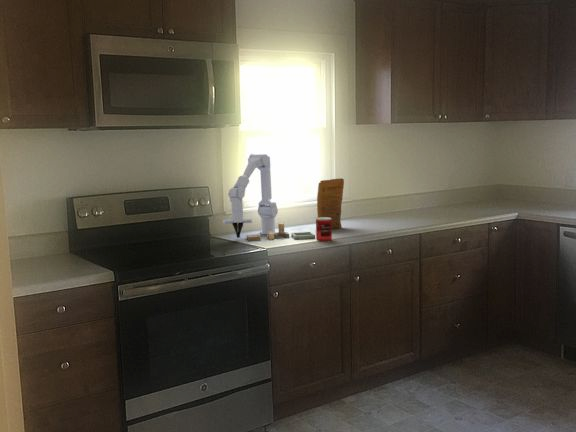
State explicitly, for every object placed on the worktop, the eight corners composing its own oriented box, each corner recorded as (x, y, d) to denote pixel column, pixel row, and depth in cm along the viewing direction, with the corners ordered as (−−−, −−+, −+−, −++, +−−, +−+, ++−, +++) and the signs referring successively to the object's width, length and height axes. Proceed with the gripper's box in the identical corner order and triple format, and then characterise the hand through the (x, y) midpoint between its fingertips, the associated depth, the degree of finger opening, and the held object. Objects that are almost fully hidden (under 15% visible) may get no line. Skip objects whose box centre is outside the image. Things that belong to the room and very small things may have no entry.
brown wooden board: (246, 239, 335) (246, 234, 335) (258, 238, 336) (258, 234, 336) (248, 241, 327) (248, 237, 326) (260, 241, 328) (260, 236, 327)
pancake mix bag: (348, 227, 364) (347, 178, 361) (320, 231, 354) (318, 180, 351) (341, 226, 370) (340, 177, 366) (313, 229, 360) (312, 179, 357)
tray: (291, 236, 339) (291, 232, 338) (310, 235, 340) (310, 231, 340) (295, 239, 327) (295, 236, 326) (315, 238, 328) (315, 235, 328)
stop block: (267, 237, 337) (267, 231, 336) (272, 237, 337) (272, 231, 337) (269, 239, 329) (269, 233, 328) (274, 239, 329) (274, 233, 329)
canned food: (322, 238, 328) (321, 216, 327) (335, 239, 323) (334, 217, 322) (313, 240, 322) (312, 218, 321) (326, 241, 317) (325, 219, 316)
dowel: (278, 236, 338) (277, 223, 337) (284, 236, 338) (283, 223, 338) (279, 237, 335) (278, 224, 334) (284, 237, 335) (284, 223, 335)
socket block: (274, 236, 340) (273, 232, 339) (287, 235, 341) (287, 232, 340) (275, 238, 333) (275, 234, 332) (289, 237, 334) (289, 233, 334)
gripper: (223, 212, 324) (224, 239, 325) (252, 211, 326) (253, 237, 327) (222, 211, 330) (223, 237, 332) (250, 209, 333) (251, 235, 334)
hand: (238, 237), depth 330 cm, fingers closed
